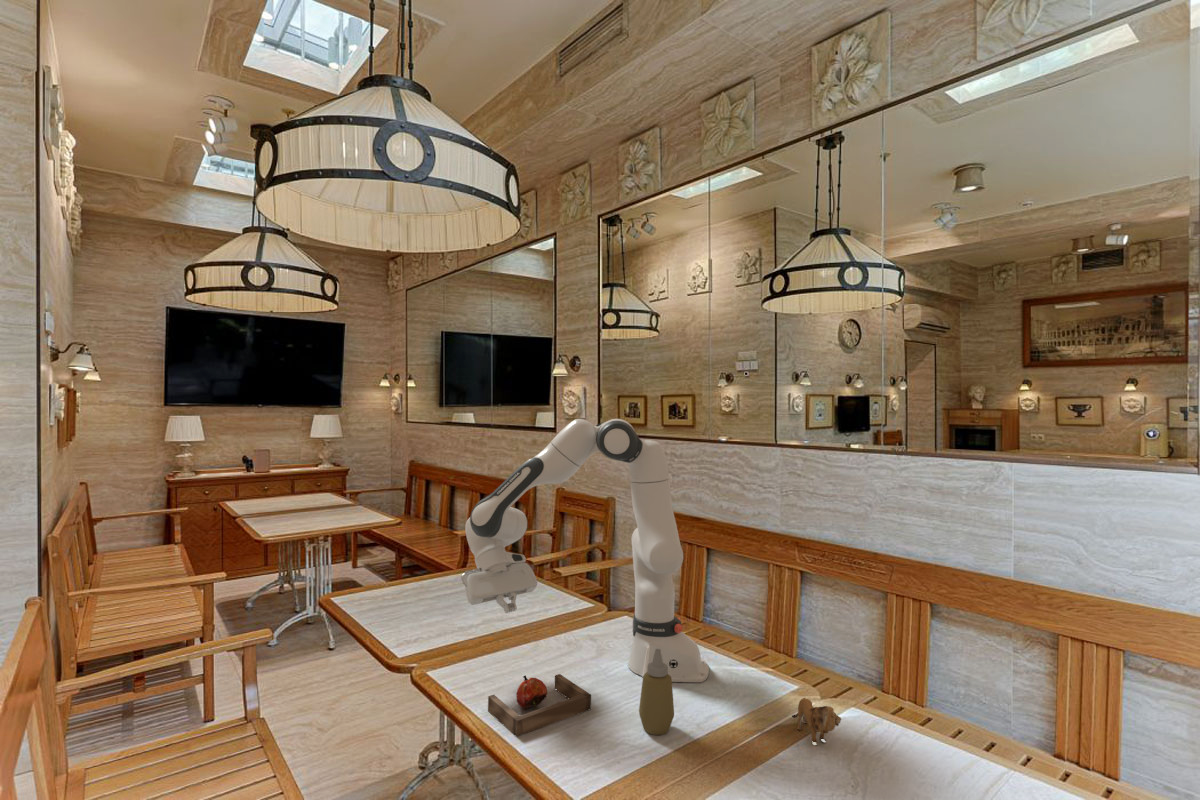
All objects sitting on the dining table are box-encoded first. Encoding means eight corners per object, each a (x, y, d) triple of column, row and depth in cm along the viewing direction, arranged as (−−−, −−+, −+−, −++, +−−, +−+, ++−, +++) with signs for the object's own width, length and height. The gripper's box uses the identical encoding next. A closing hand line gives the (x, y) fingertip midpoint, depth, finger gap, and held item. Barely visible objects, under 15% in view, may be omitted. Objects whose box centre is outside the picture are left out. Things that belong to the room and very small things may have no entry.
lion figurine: (844, 751, 130) (845, 709, 130) (823, 755, 128) (824, 713, 128) (801, 717, 144) (801, 679, 144) (782, 720, 142) (782, 682, 142)
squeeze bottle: (672, 740, 132) (674, 659, 132) (636, 735, 134) (637, 655, 134) (675, 721, 140) (677, 644, 140) (640, 717, 142) (642, 641, 142)
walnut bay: (487, 710, 143) (488, 696, 143) (559, 687, 156) (559, 673, 156) (516, 736, 132) (517, 720, 132) (590, 709, 145) (591, 694, 145)
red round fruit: (550, 718, 145) (540, 679, 152) (554, 703, 140) (543, 663, 148) (520, 726, 142) (511, 686, 149) (522, 712, 138) (513, 671, 145)
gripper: (463, 565, 159) (479, 613, 151) (529, 554, 172) (547, 597, 164) (455, 578, 163) (471, 625, 155) (521, 566, 175) (538, 609, 168)
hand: (511, 610), depth 160 cm, fingers closed
